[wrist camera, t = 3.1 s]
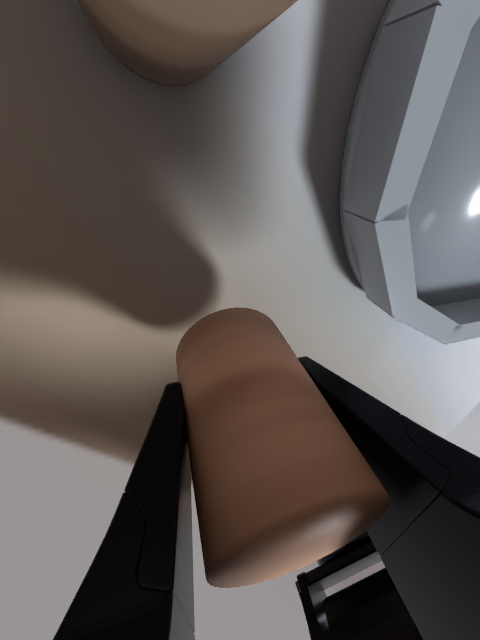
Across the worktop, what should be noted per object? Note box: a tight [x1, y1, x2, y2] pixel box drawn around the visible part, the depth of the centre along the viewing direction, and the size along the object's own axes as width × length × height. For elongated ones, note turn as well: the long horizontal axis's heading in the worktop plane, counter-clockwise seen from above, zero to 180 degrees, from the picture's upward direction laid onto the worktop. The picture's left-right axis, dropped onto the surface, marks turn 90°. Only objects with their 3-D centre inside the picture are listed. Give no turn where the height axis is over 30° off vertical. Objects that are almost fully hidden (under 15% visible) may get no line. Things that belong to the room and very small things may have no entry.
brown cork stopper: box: [176, 308, 390, 588], centre depth 8 cm, size 4×4×6 cm
